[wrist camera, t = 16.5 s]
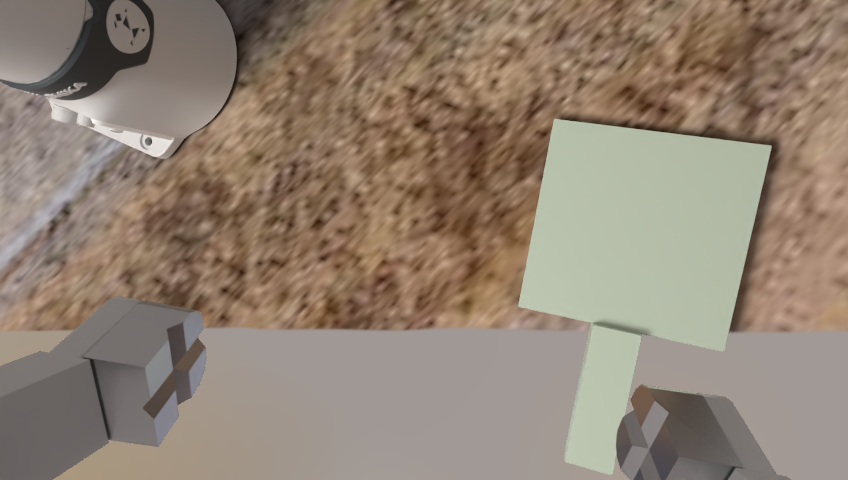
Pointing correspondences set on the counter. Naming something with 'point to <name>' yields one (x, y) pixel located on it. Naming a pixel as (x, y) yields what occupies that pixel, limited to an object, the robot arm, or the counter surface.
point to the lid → (637, 254)
